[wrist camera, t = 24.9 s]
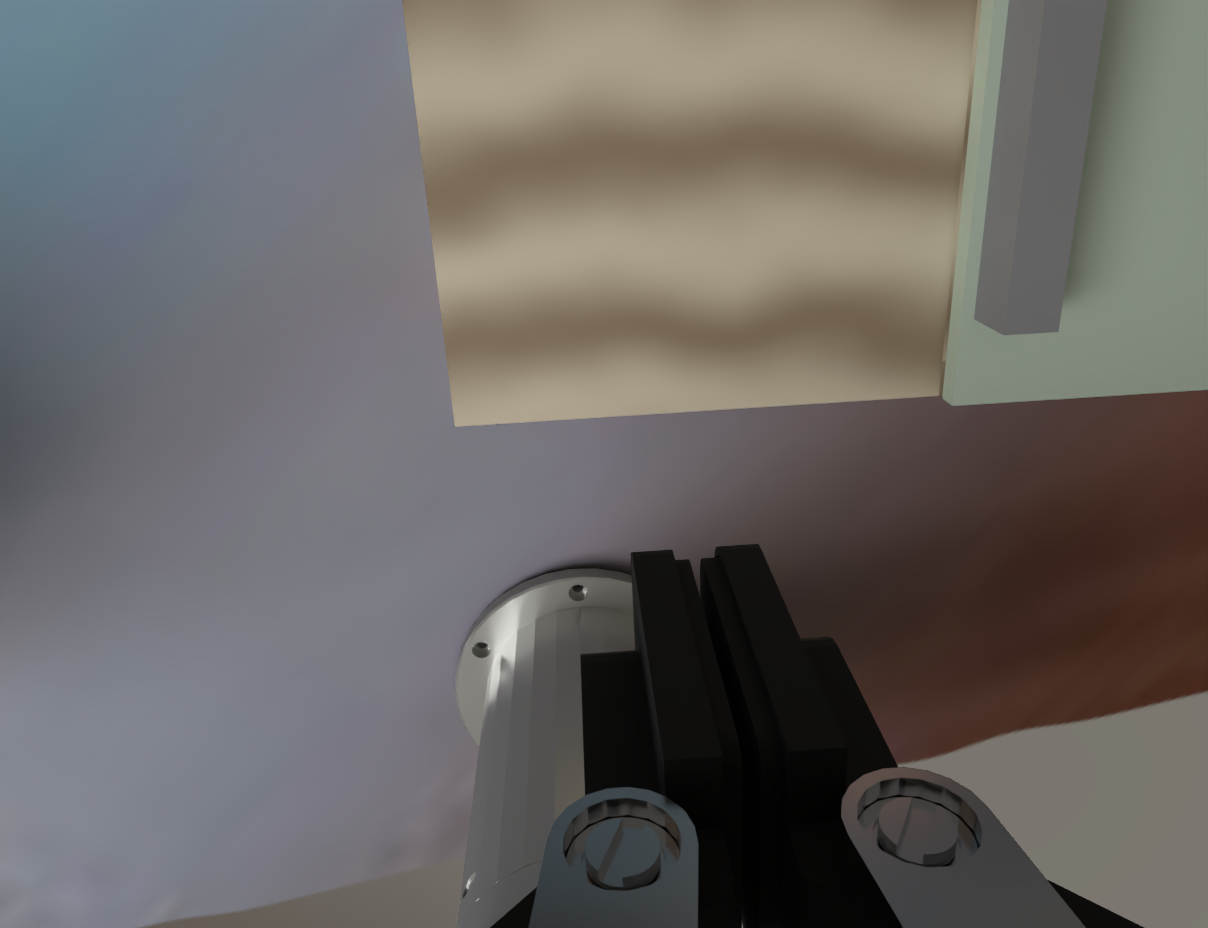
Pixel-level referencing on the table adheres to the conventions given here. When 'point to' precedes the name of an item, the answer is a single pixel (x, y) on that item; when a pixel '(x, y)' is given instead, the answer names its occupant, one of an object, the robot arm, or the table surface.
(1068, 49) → the sliding lid
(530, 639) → the robot arm
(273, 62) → the table surface
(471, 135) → the well frame
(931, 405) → the table surface
